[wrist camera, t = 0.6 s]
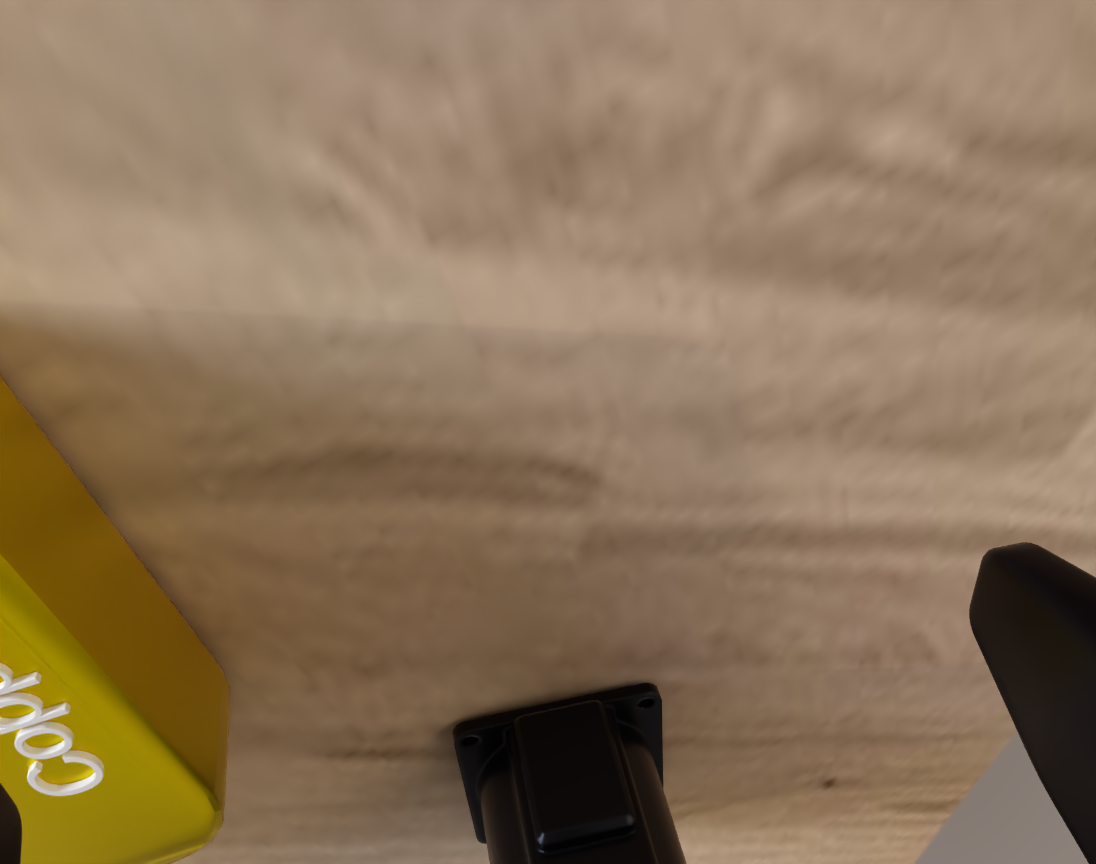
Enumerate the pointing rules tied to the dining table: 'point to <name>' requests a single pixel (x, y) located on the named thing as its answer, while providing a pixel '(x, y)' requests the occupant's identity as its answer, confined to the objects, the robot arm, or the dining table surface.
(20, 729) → the element tile
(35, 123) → the dining table surface
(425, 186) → the dining table surface
